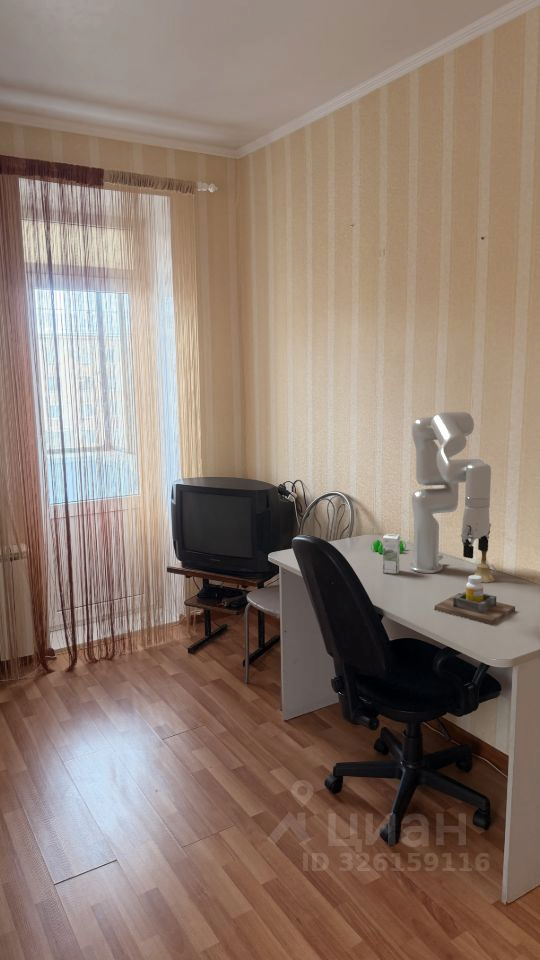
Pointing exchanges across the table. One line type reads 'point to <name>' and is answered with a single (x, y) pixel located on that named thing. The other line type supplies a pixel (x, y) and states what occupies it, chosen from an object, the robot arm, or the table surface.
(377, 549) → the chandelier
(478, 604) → the socket plate
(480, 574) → the hand bell
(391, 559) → the syrup box
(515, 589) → the table surface
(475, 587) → the supplement bottle
